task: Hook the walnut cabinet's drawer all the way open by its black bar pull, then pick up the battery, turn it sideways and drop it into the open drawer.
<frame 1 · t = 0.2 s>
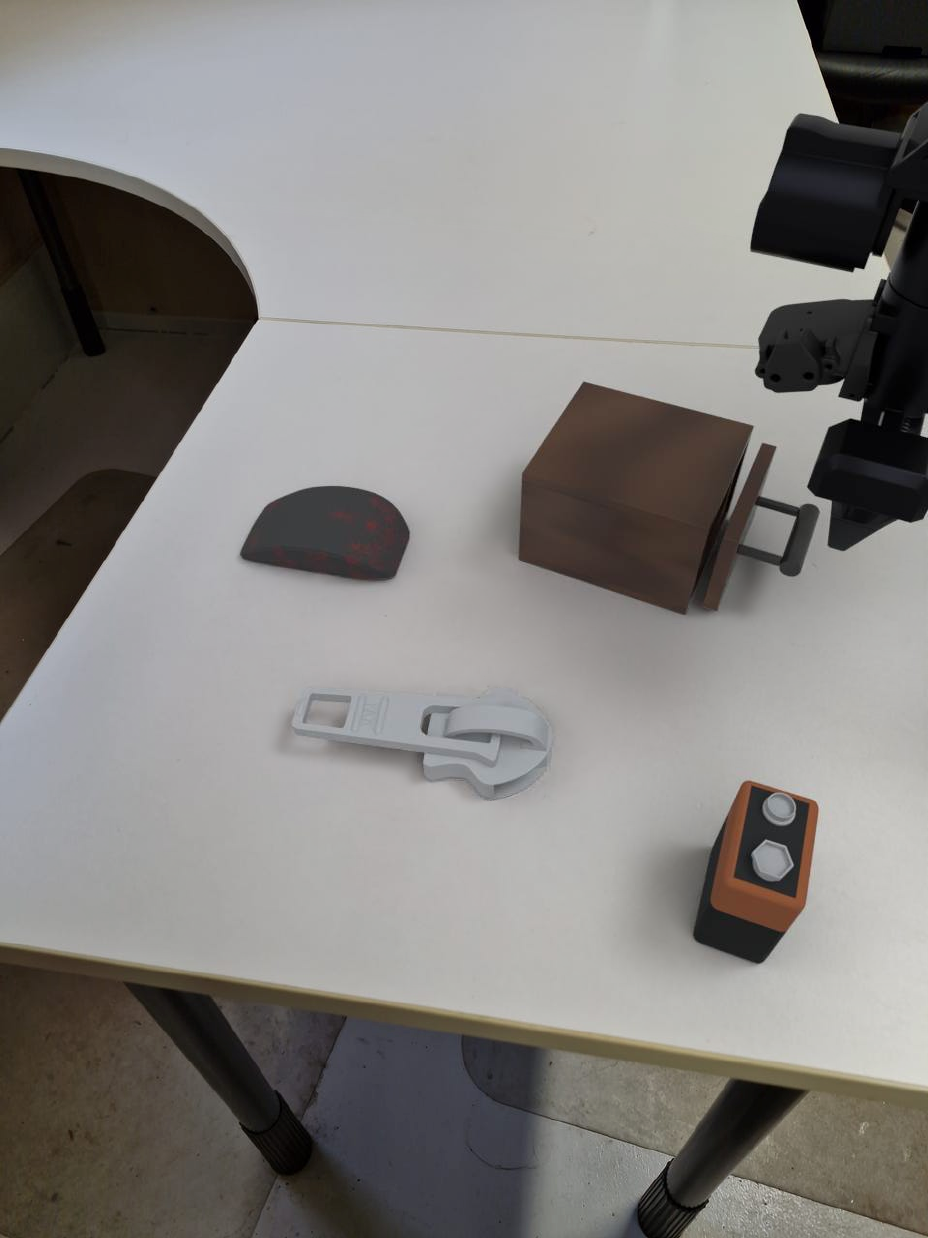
hand: (849, 503, 58), 13 cm above the table, tool pointing down, fingers open, 9 cm apart
cabinet: (625, 536, 74), on the table
drawer: (693, 512, 69), point 5 cm above the table, slide at 1.0 cm
zipper pull: (425, 744, 62), on the table
battery: (735, 905, 54), on the table
dark grey half-round block: (327, 547, 75), on the table
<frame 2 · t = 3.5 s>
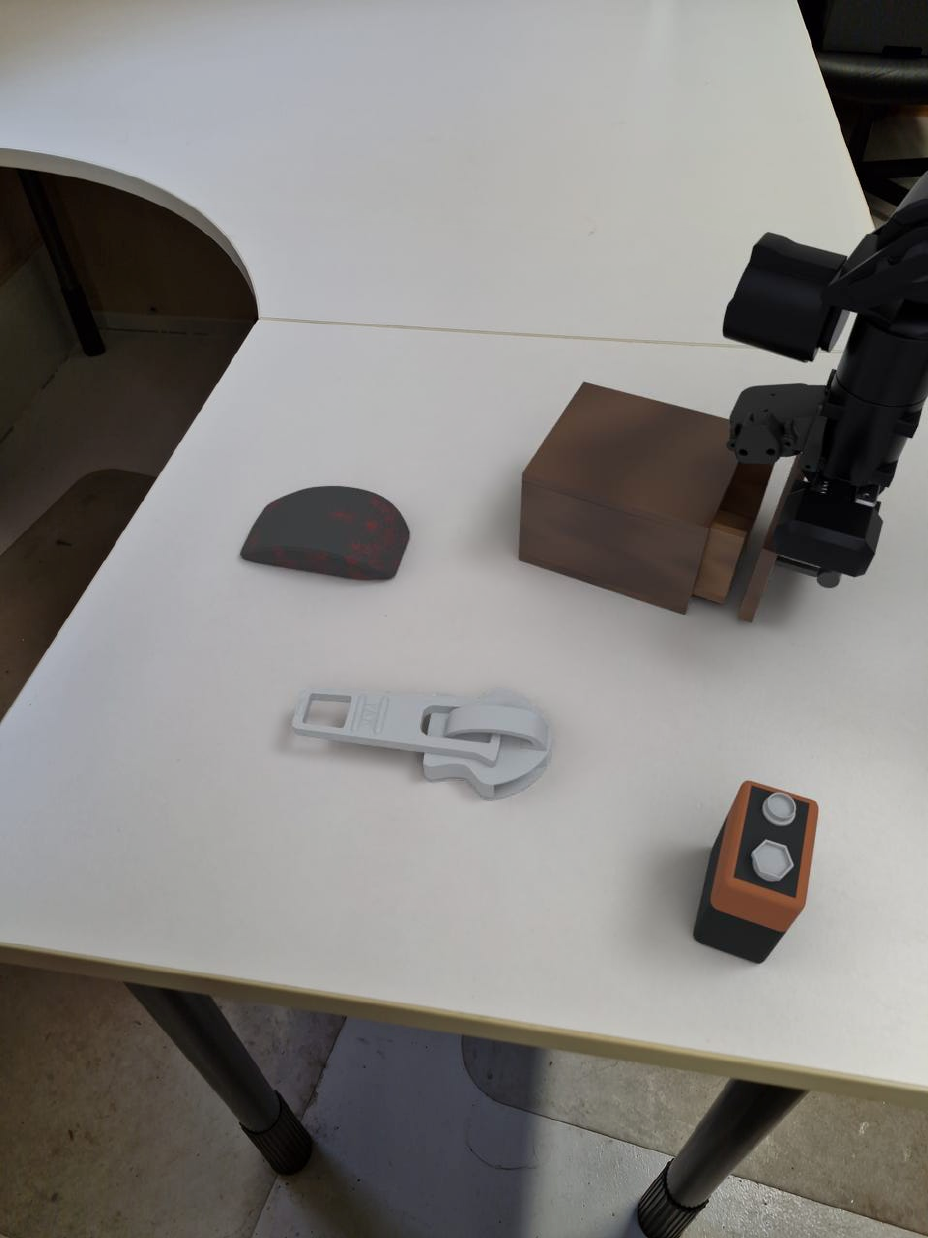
hand: (811, 551, 67), 4 cm above the table, tool pointing down, fingers closed
drawer: (727, 522, 68), point 5 cm above the table, slide at 3.8 cm
everything else where it was.
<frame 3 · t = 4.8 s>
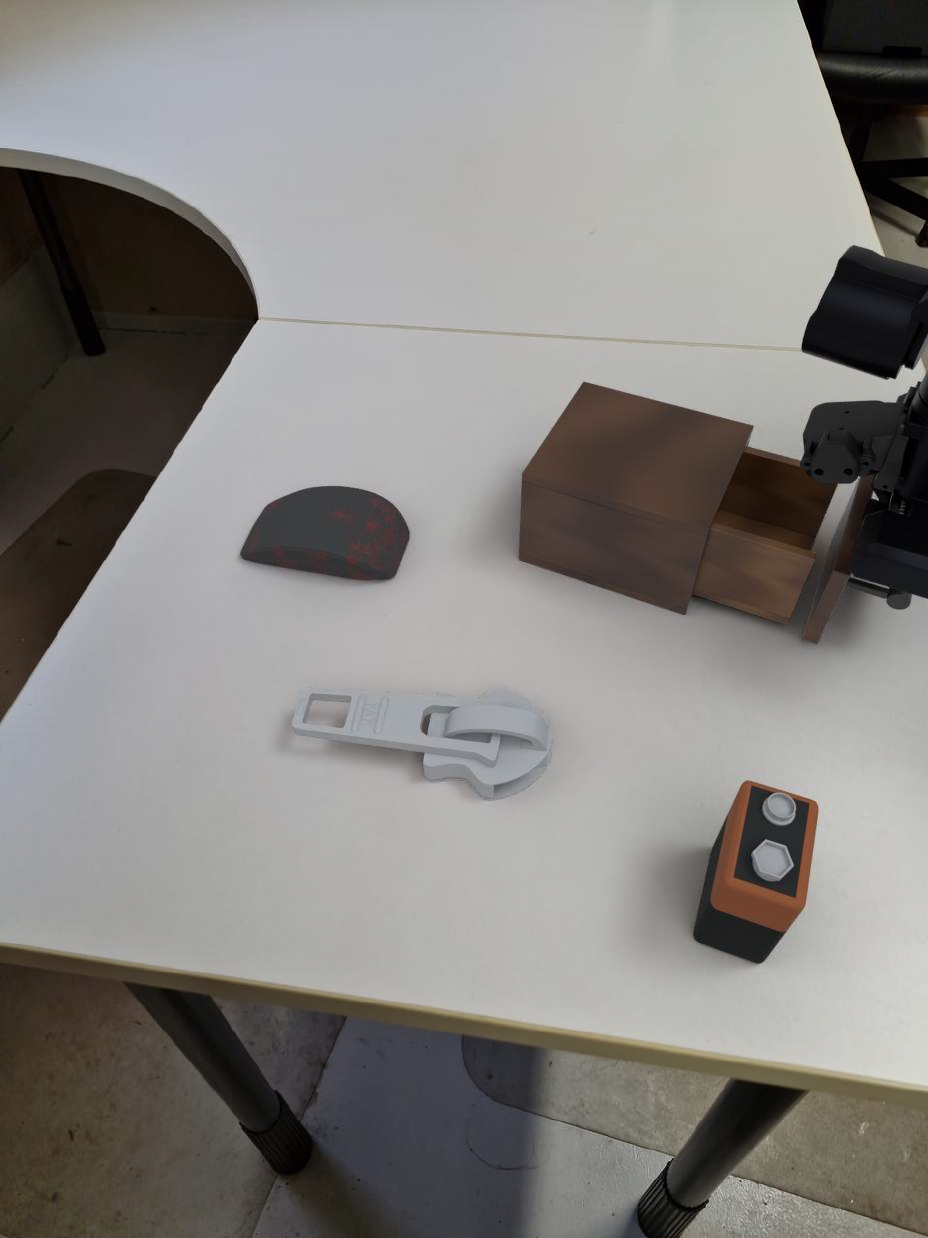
hand: (878, 570, 65), 4 cm above the table, tool pointing down, fingers closed, pressing on drawer
drawer: (790, 541, 67), point 5 cm above the table, slide at 8.8 cm, touching gripper
everything else where it was.
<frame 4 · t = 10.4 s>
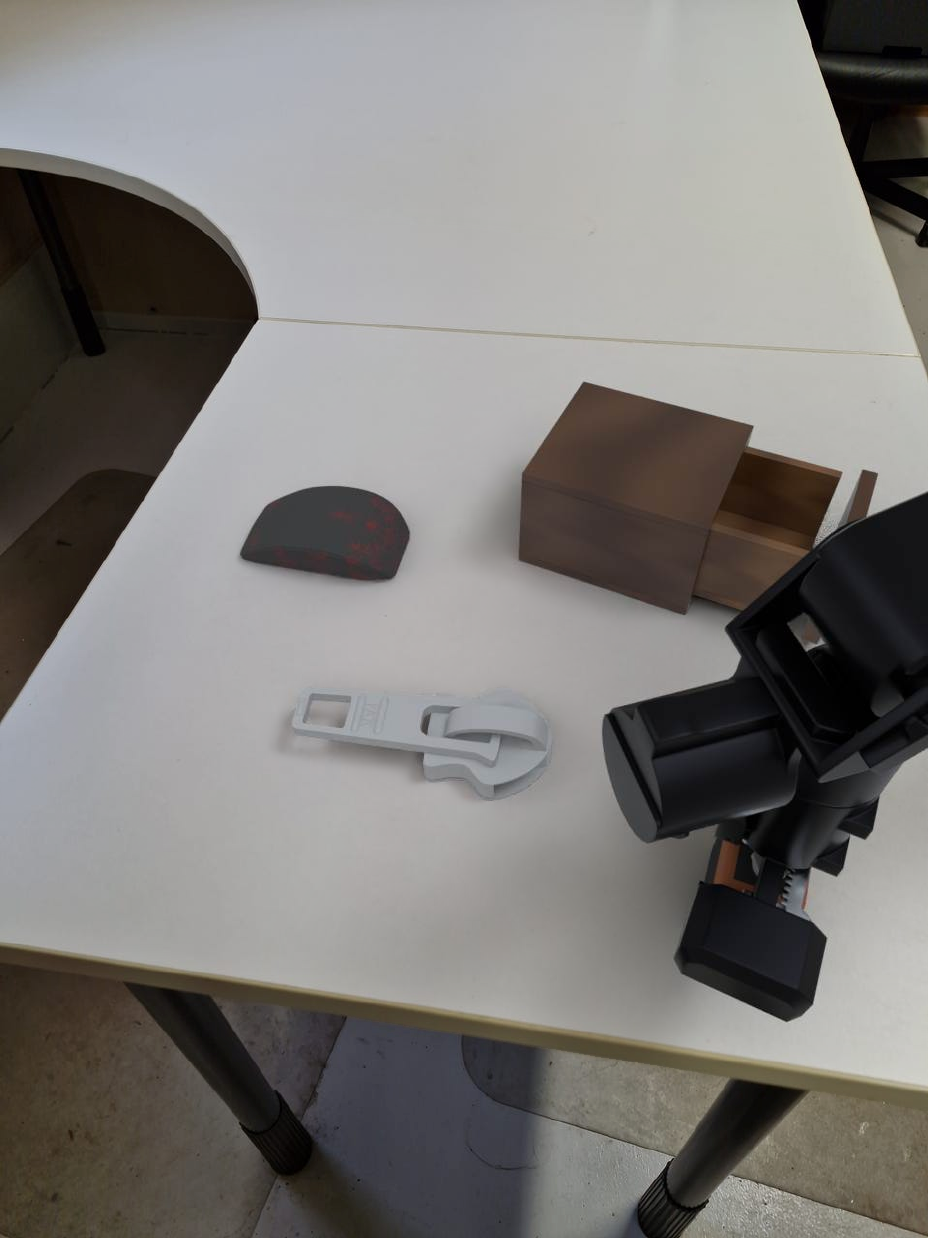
hand: (745, 887, 51), 3 cm above the table, tool pointing down, fingers closed on battery, 7 cm apart
drawer: (790, 541, 67), point 5 cm above the table, slide at 8.8 cm
battery: (735, 905, 54), on the table, touching gripper
everything else where it was.
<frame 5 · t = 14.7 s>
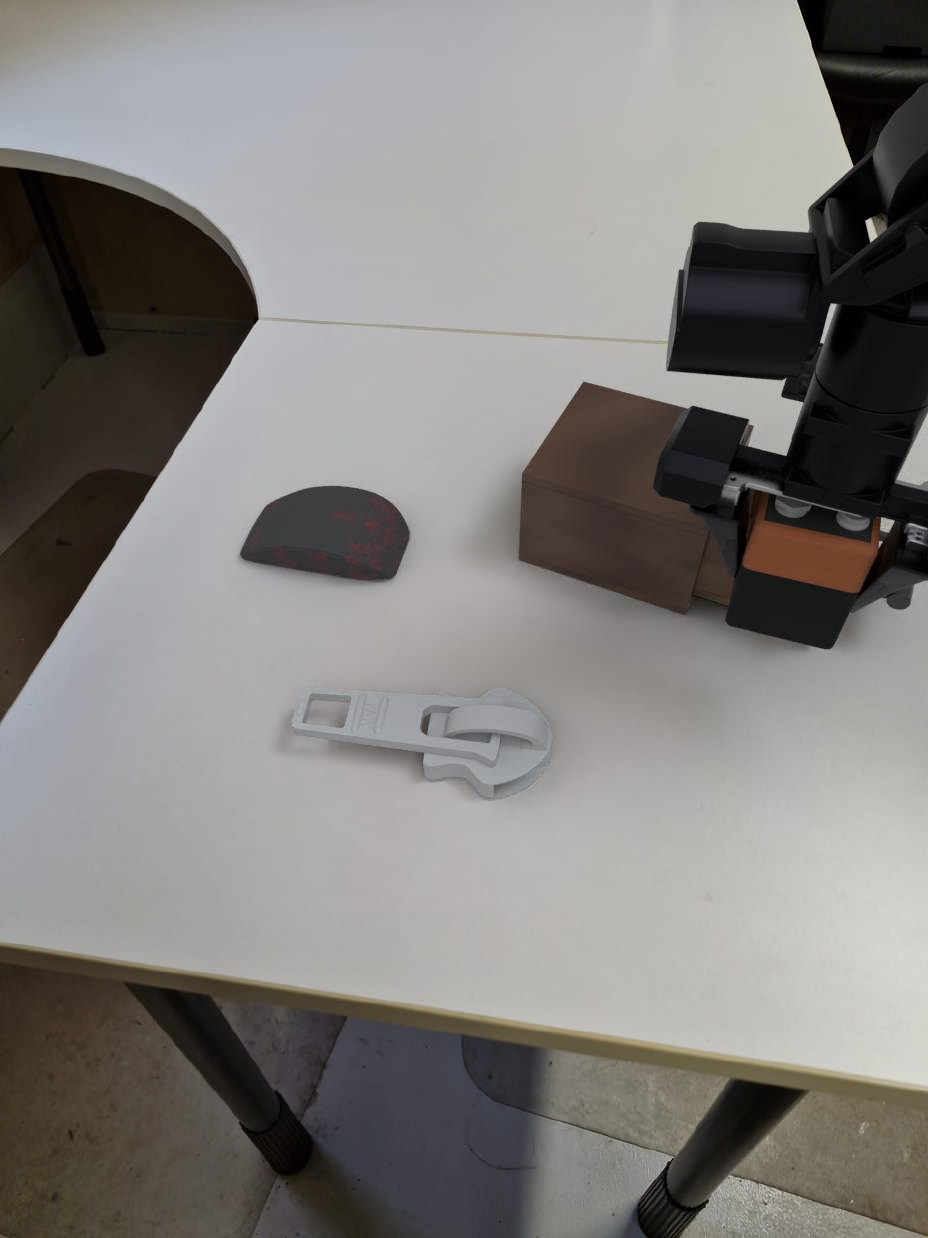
hand: (791, 590, 54), 12 cm above the table, tool pointing down, fingers closed on battery, 7 cm apart
battery: (779, 618, 56), point 9 cm above the table, touching gripper
everything else where it was.
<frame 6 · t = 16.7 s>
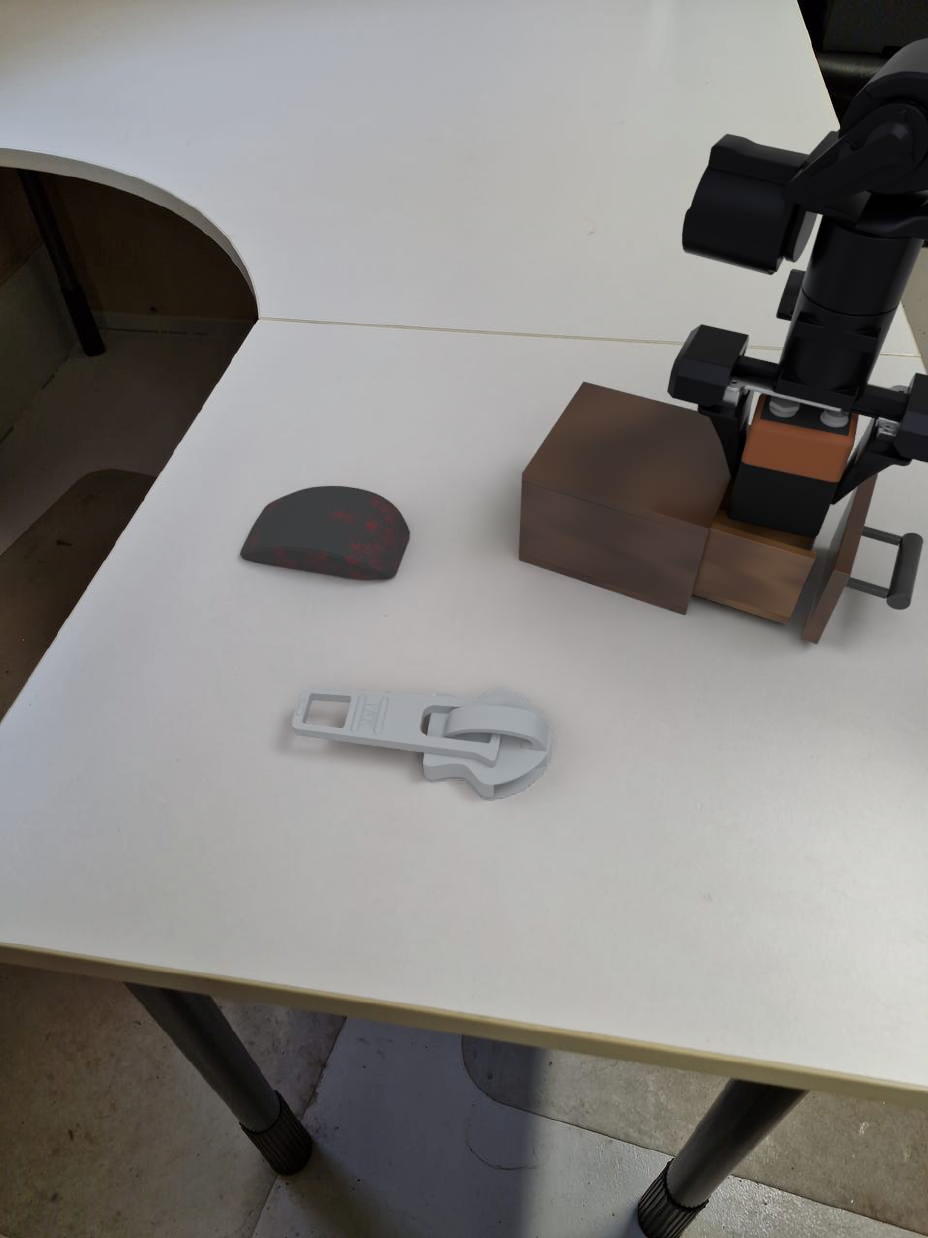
hand: (783, 487, 64), 10 cm above the table, tool pointing down, fingers closed on battery, 7 cm apart
battery: (773, 514, 66), point 7 cm above the table, touching gripper
everything else where it was.
when the fingers open (10 cm above the table, at t = 19.2 s): battery drops 5 cm, resting on drawer.
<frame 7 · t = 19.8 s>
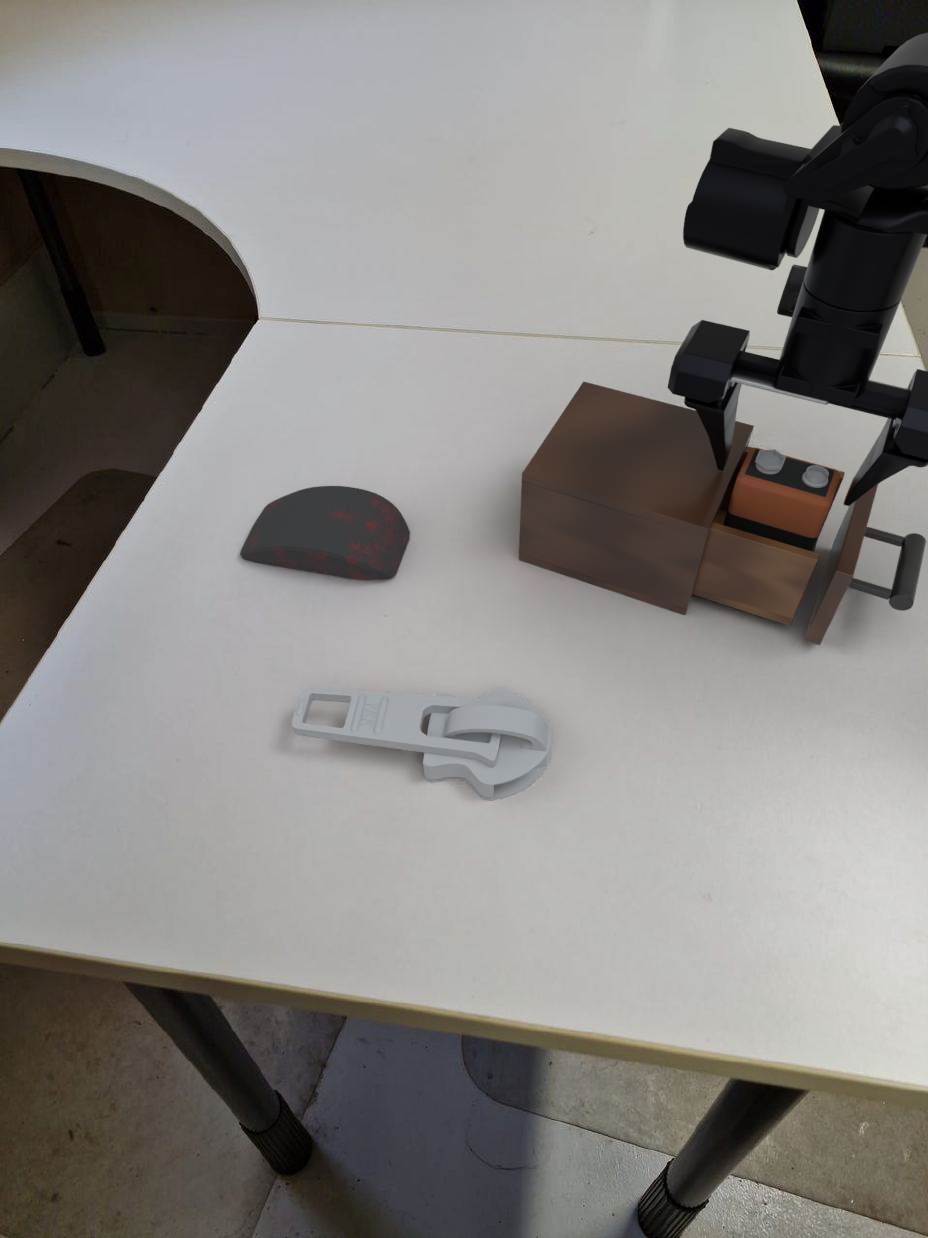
hand: (783, 484, 64), 10 cm above the table, tool pointing down, fingers open, 9 cm apart
drawer: (793, 542, 67), point 5 cm above the table, slide at 9.0 cm, touching battery
battery: (758, 561, 70), point 2 cm above the table, touching drawer
everything else where it was.
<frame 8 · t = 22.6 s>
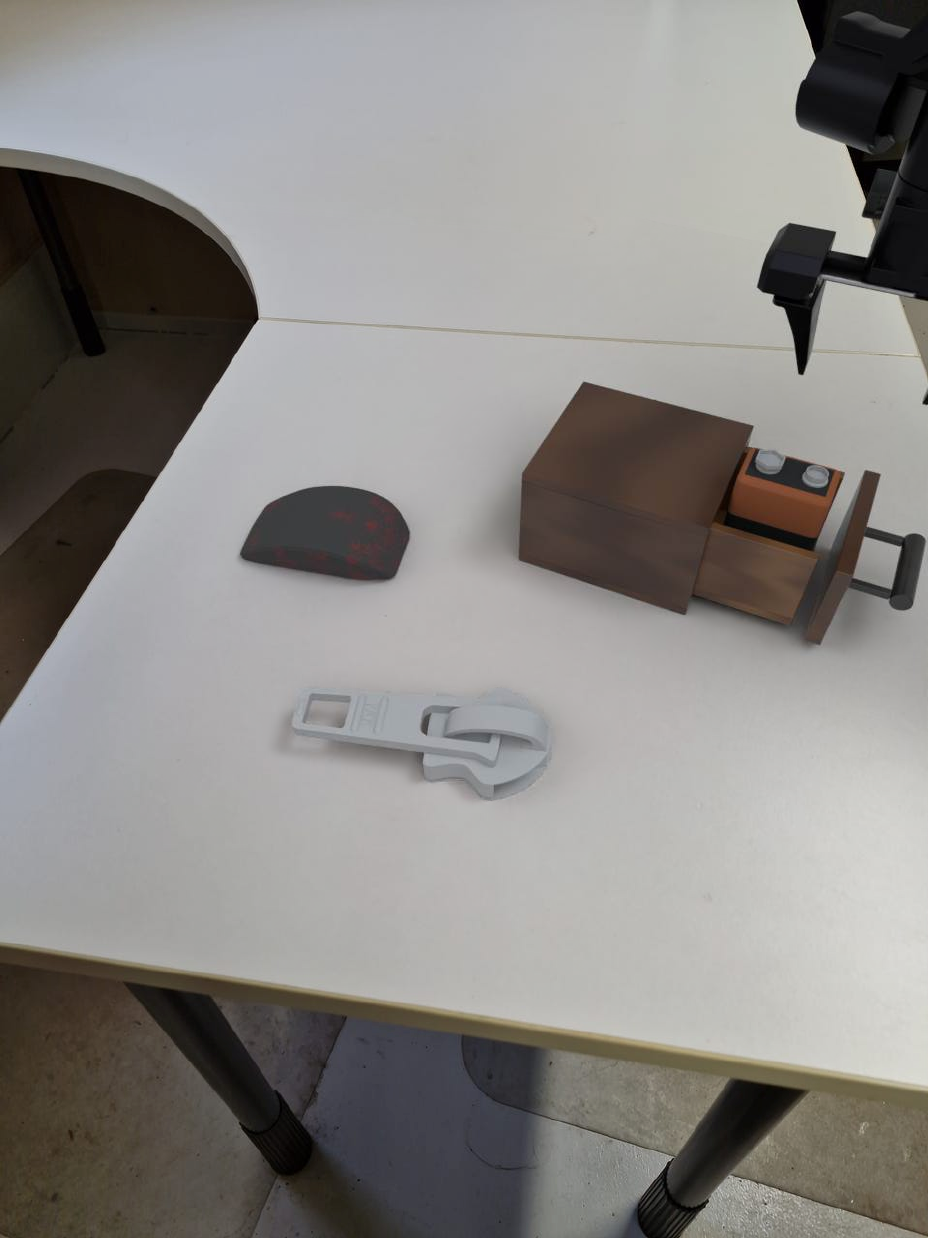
hand: (862, 386, 66), 13 cm above the table, tool pointing down, fingers open, 9 cm apart
nothing on the table moved.
at the end: drawer slide at 9.0 cm; battery inside the target area in the drawer (0.2 cm from its centre), point 1.8 cm above the cabinet's base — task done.
